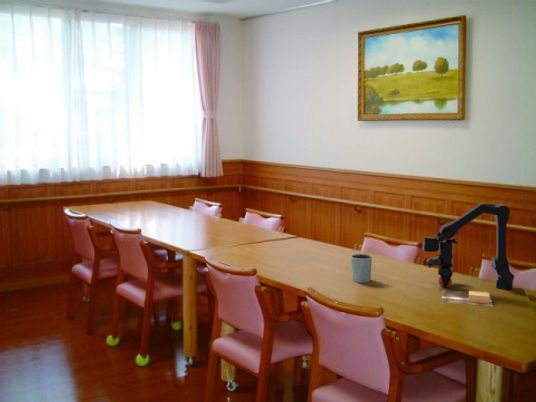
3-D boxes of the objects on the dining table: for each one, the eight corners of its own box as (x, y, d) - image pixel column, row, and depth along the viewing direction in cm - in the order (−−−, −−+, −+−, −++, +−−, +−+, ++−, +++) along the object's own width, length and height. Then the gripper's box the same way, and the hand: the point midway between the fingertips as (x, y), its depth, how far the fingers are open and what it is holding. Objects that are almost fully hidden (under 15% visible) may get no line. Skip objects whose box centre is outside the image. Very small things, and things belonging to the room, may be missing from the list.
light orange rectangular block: (488, 299, 250) (488, 292, 250) (488, 303, 245) (489, 296, 244) (468, 297, 253) (469, 290, 252) (468, 301, 247) (468, 294, 247)
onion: (448, 287, 273) (449, 270, 272) (453, 290, 268) (453, 273, 267) (436, 287, 273) (437, 270, 272) (440, 290, 268) (441, 273, 266)
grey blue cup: (371, 283, 280) (371, 259, 278) (349, 282, 282) (350, 258, 280) (371, 278, 289) (372, 254, 288) (351, 277, 291) (351, 253, 290)
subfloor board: (489, 296, 258) (489, 293, 258) (492, 309, 241) (492, 306, 241) (442, 293, 264) (442, 289, 264) (441, 305, 247) (441, 301, 247)
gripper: (428, 247, 279) (427, 278, 281) (427, 255, 262) (425, 289, 264) (453, 248, 276) (451, 280, 278) (453, 257, 258) (451, 291, 260)
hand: (444, 285), depth 270 cm, fingers closed on onion, 6 cm apart
